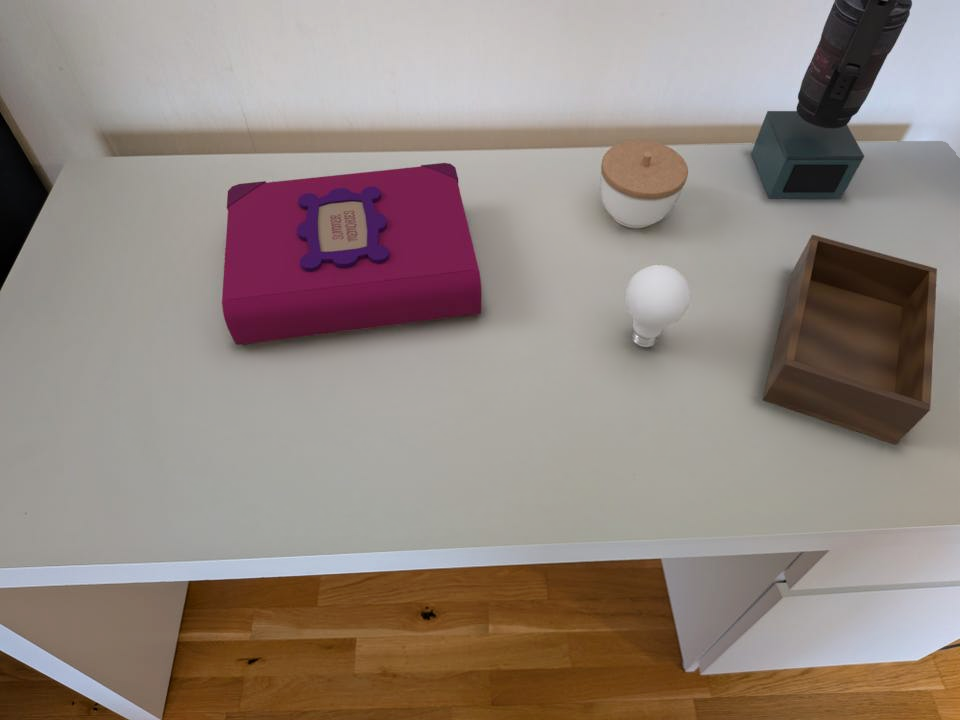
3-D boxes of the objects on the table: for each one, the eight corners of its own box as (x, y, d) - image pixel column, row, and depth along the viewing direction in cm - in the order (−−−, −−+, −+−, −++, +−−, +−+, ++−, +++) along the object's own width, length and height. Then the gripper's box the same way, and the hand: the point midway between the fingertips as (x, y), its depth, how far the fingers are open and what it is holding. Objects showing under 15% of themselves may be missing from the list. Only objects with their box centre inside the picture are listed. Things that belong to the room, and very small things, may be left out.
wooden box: (791, 273, 84) (812, 234, 79) (907, 307, 81) (937, 268, 76) (762, 400, 73) (784, 363, 68) (896, 444, 70) (930, 410, 65)
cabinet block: (819, 153, 99) (839, 110, 93) (841, 199, 93) (865, 156, 87) (750, 153, 99) (767, 110, 93) (769, 199, 93) (787, 156, 87)
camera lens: (777, 112, 88) (825, -6, 76) (811, 90, 92) (862, -28, 80) (833, 141, 85) (892, 21, 73) (866, 116, 88) (928, -3, 76)
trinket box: (577, 205, 92) (586, 146, 84) (637, 177, 95) (651, 118, 88) (629, 252, 87) (644, 193, 79) (690, 221, 90) (710, 162, 83)
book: (482, 321, 80) (483, 276, 73) (238, 353, 76) (217, 309, 70) (455, 204, 92) (453, 157, 86) (243, 227, 89) (226, 180, 83)
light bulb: (602, 341, 78) (618, 274, 69) (637, 310, 81) (657, 242, 72) (648, 375, 75) (671, 309, 66) (683, 342, 78) (710, 274, 69)
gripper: (892, -145, 75) (810, 53, 93) (877, -73, 63) (786, 137, 82) (965, -134, 73) (867, 65, 91) (964, -58, 62) (852, 152, 80)
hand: (829, 99), depth 86 cm, fingers closed on camera lens, 8 cm apart
